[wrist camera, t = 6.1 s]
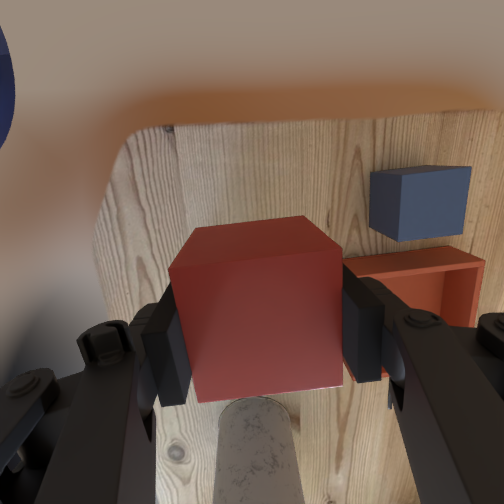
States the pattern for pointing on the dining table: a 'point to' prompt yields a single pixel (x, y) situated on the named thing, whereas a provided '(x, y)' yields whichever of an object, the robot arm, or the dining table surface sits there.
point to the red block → (260, 308)
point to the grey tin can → (256, 455)
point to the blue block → (419, 201)
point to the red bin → (428, 281)
